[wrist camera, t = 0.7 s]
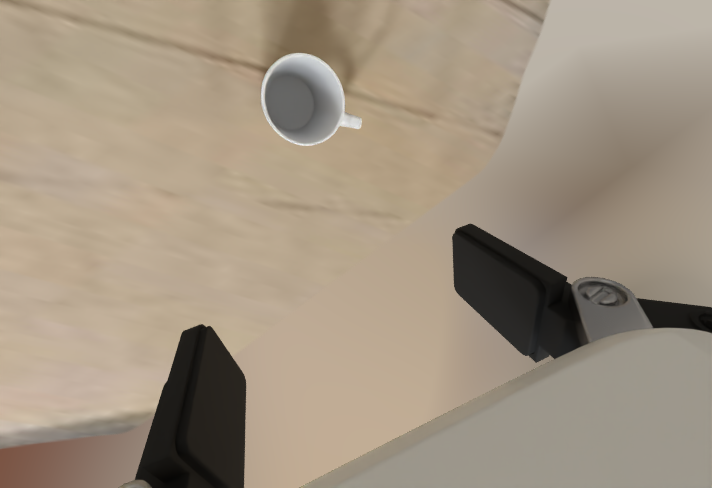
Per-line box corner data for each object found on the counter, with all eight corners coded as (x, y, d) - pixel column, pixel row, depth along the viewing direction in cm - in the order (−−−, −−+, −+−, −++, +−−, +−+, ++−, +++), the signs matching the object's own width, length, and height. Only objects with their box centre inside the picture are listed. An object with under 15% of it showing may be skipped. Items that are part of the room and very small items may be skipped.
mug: (253, 123, 33) (253, 130, 22) (264, 59, 30) (271, 35, 20) (333, 149, 37) (364, 165, 27) (348, 94, 35) (388, 89, 24)
